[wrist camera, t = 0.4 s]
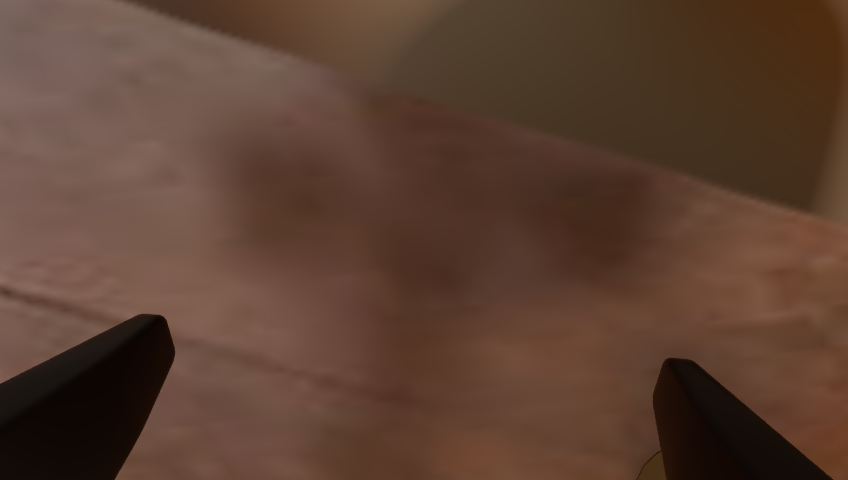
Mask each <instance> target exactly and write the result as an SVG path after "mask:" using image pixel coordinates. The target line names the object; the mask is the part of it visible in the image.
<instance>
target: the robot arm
mask: <svg viewBox="0 0 848 480" xmlns="http://www.w3.org/2000/svg"><path fill="white" fill-rule="evenodd" d="M174 357H175V347H174V344H173V341H172V337H171V334H170V330H169V327H168V324H167V321H166V319H165V318H164V317H163V316H161V315H153V314H139V315H137V316H135V317H133V318H131V319H129V320H127V321H125V322H123V323H121V324H119V325H117V326H115V327H113V328H111V329H109V330H107V331H105V332H103V333H101V334H99V335H97V336H95V337H93V338H91V339H89V340H87V341H85V342H83V343H81V344H79V345H77V346H75V347H73V348H71V349H69V350H67V351H65V352H63V353H61V354H59V355H57V356H55V357H53V358H51V359H49V360H47V361H45V362H43V363H41V364H39V365H37V366H35V367H33V368H31V369H29V370H27V371H25V372H23V373H21V374H19V375H17V376H15V377H13V378H11V379H9V380H7V381H5V382H3V383H1V384H0V480H115V478H116V476H117V474H118V473H119V471H120V469H121V467H122V466H123V464H124V462H125V461H126V459H127V457H128V455H129V454H130V452H131V450H132V448H133V447H134V445H135V443H136V441H137V439H138V438H139V436H140V434H141V432H142V430H143V428H144V426H145V424H146V421H147V419H148V417H149V415H150V413H151V410H152V408H153V406H154V404H155V401H156V399H157V397H158V395H159V393H160V390H161V388H162V386H163V384H164V381H165V379H166V377H167V375H168V372H169V370H170V368H171V366H172V364H173V361H174ZM653 407H654V413H655V419H656V424H657V430H658V435H659V441H660V447H661V452H662V458H663V464H664V469H665V475H666V480H833V479H832V478H831V477H829V476H828V475H827V474H826V473H825V472H824V471H822V470H821V469H820V468H819V467H818V466H817V465H815V464H814V463H813V462H812V461H811V460H809V459H808V458H807V457H806V456H805V455H804V454H802V453H801V452H800V451H799V450H798V449H797V448H795V447H794V446H793V445H792V444H791V443H789V442H788V441H787V440H786V439H785V438H784V437H782V436H781V435H780V434H779V433H778V432H777V431H775V430H774V429H773V428H772V427H771V426H769V425H768V424H767V423H766V422H765V421H764V420H762V419H761V418H760V417H759V416H758V415H756V414H755V413H754V412H753V411H752V410H751V409H749V408H748V407H747V406H746V405H745V404H744V403H742V402H741V401H740V400H739V399H738V398H736V397H735V396H734V395H733V394H732V393H731V392H729V391H728V390H727V389H726V388H725V387H724V386H722V385H721V384H720V383H719V382H718V381H716V380H715V379H714V378H713V377H712V376H711V375H709V374H708V373H707V372H706V371H705V370H704V369H702V368H701V367H700V366H699V365H698V364H696V363H695V362H694V361H692V360H689V359H678V358H668V359H666V360H665V361H664V363H663V365H662V368H661V371H660V374H659V377H658V380H657V383H656V386H655V389H654V393H653Z"/></svg>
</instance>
